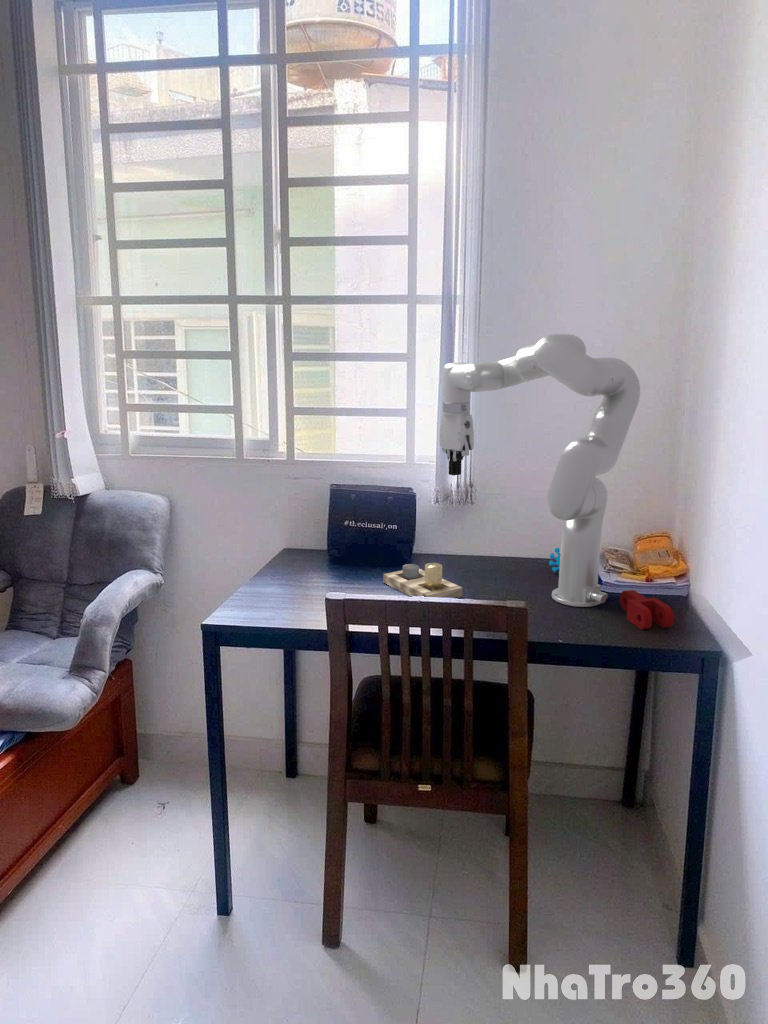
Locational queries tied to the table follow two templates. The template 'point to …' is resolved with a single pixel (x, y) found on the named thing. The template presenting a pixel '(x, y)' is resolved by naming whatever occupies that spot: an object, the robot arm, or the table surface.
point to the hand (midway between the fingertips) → (454, 474)
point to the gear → (556, 560)
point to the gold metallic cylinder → (433, 576)
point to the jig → (418, 583)
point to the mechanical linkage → (646, 610)
